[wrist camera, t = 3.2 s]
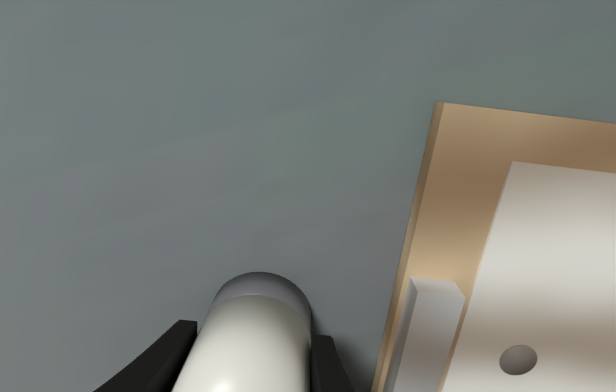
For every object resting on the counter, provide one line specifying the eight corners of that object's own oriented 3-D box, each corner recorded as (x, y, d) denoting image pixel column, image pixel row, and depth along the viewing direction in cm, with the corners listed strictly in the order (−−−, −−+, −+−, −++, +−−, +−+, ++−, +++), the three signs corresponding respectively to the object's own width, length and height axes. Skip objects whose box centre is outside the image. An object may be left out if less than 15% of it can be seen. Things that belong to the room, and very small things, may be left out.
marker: (306, 361, 15) (299, 595, 8) (209, 351, 15) (120, 578, 8) (318, 277, 13) (322, 470, 7) (212, 265, 13) (109, 448, 7)
